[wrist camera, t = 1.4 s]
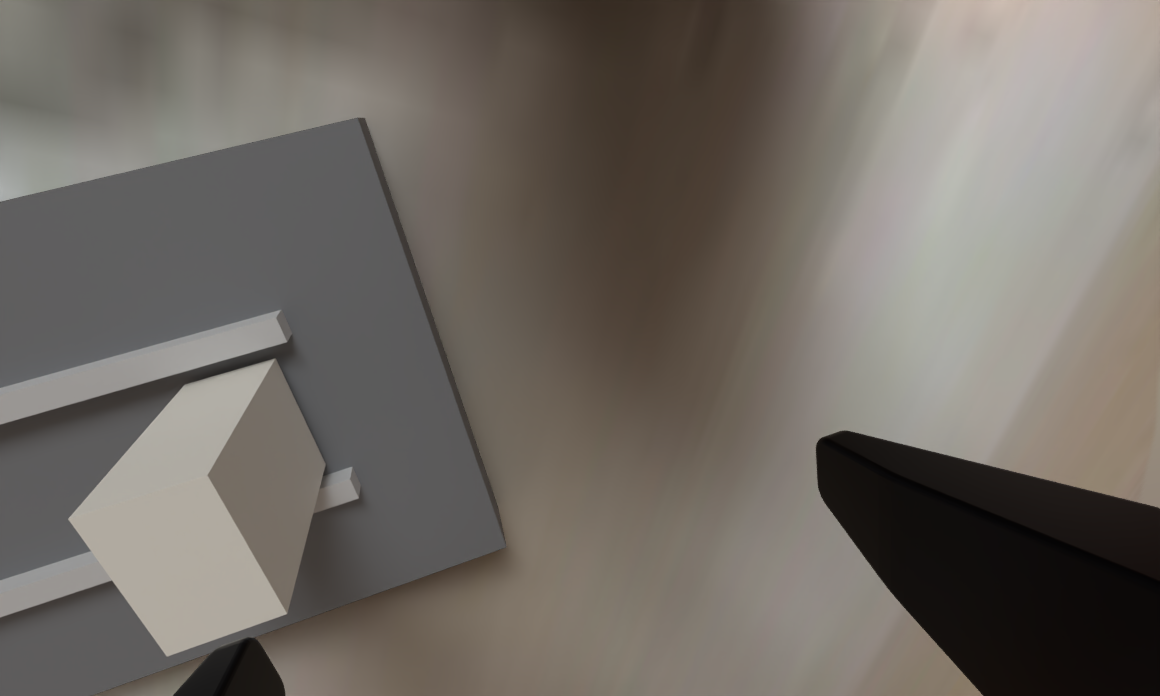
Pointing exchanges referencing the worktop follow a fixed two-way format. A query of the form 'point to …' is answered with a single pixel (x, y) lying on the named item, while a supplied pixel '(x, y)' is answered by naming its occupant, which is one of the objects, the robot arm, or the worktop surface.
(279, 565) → the slider paddle
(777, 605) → the worktop surface
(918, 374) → the worktop surface
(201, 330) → the panel
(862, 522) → the robot arm
